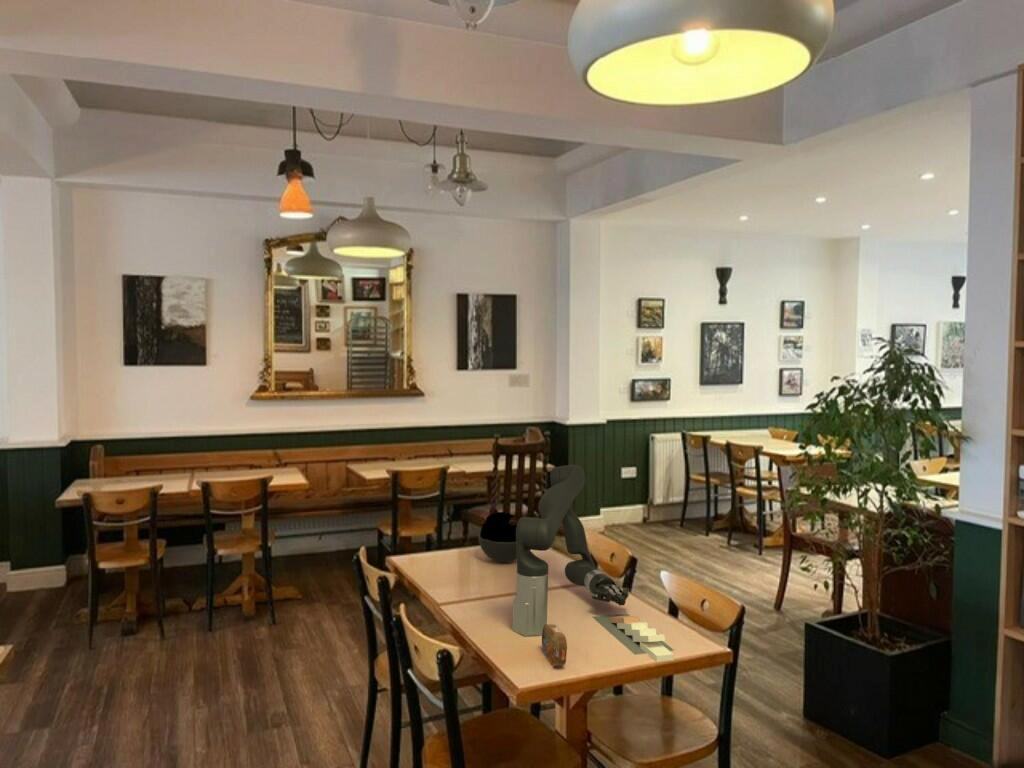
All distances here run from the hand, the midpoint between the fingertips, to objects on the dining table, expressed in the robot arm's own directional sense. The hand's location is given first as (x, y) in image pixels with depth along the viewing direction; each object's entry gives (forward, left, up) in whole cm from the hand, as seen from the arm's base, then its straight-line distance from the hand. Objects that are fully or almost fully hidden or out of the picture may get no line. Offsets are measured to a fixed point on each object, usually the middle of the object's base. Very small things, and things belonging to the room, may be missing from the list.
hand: (622, 602), depth 227 cm
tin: (-33, -7, -8) cm, 34 cm away
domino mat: (-2, -6, -8) cm, 10 cm away
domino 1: (+1, +3, -6) cm, 7 cm away
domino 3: (-2, -7, -6) cm, 10 cm away
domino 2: (-1, -2, -6) cm, 7 cm away
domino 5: (-6, -16, -6) cm, 18 cm away
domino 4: (-4, -12, -6) cm, 14 cm away
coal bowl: (+11, +76, -8) cm, 77 cm away
